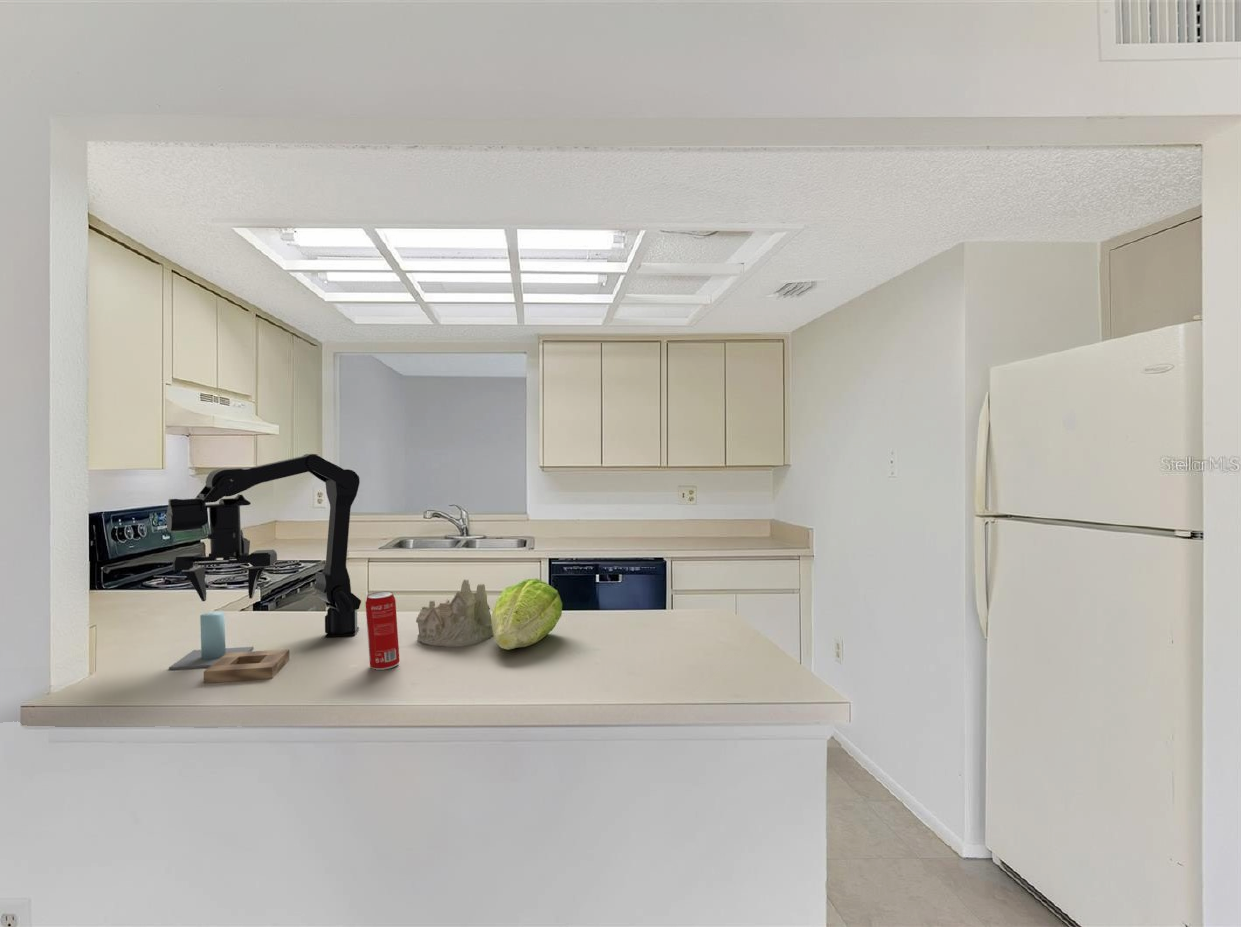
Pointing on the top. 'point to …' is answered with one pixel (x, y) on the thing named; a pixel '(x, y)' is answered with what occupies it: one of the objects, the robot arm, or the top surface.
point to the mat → (197, 662)
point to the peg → (212, 635)
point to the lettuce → (525, 613)
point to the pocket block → (247, 666)
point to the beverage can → (382, 630)
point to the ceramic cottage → (457, 619)
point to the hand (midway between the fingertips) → (227, 599)
